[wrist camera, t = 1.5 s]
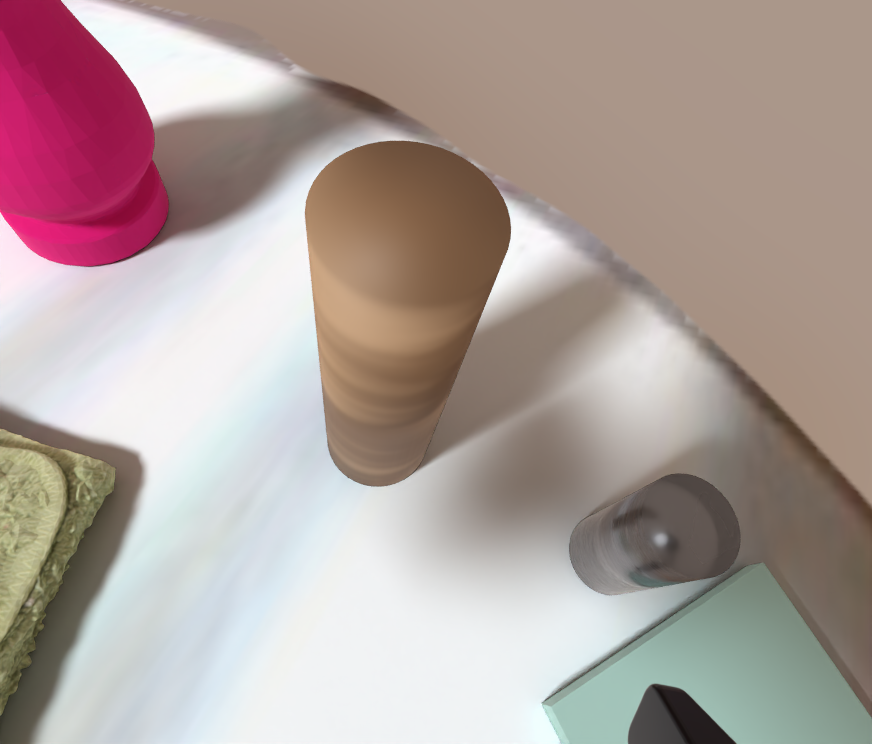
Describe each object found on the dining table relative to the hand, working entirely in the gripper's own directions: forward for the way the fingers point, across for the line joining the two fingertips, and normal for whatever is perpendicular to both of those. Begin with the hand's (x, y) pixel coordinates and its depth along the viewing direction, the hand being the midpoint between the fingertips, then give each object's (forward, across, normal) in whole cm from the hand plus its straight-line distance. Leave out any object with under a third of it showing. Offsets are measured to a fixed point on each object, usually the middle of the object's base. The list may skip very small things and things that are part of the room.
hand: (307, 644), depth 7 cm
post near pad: (+13, -10, +6) cm, 17 cm away
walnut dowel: (+15, 0, +4) cm, 15 cm away
